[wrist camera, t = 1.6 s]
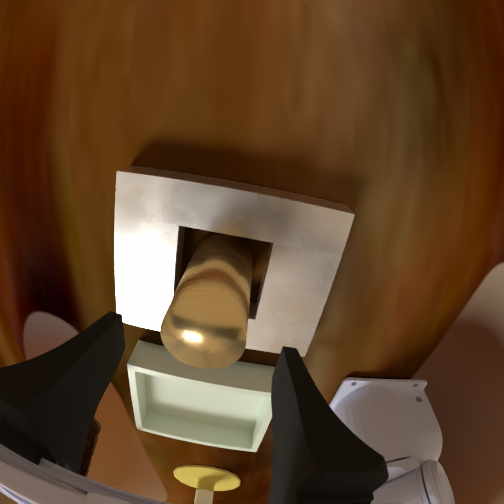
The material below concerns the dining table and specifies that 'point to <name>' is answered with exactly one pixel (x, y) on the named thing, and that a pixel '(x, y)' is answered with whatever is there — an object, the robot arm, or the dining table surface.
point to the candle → (206, 480)
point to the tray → (200, 399)
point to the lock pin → (211, 305)
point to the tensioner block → (232, 223)
